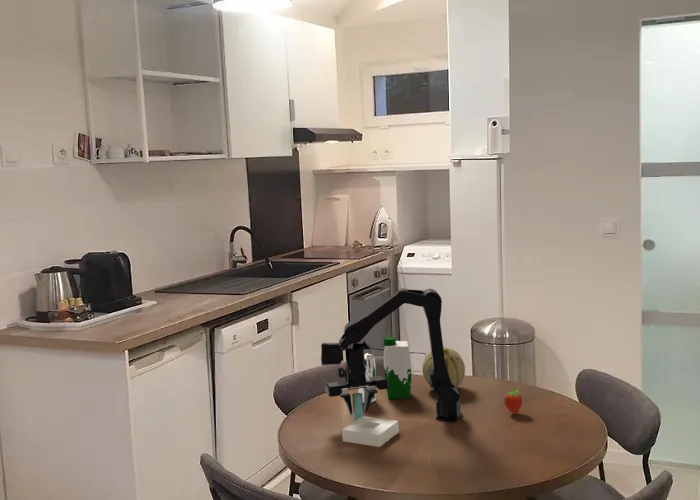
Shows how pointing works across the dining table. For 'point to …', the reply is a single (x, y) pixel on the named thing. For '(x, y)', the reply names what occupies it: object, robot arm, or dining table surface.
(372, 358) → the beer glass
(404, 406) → the dining table surface
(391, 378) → the milk carton
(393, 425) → the socket block
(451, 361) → the cantaloupe
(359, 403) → the peg
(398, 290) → the robot arm
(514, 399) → the fruit
